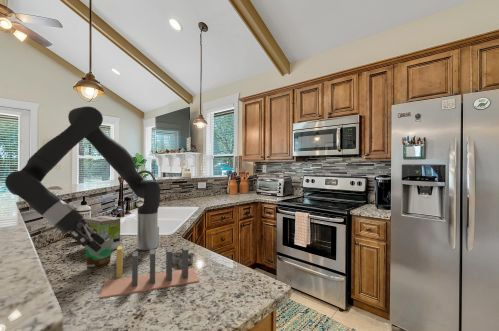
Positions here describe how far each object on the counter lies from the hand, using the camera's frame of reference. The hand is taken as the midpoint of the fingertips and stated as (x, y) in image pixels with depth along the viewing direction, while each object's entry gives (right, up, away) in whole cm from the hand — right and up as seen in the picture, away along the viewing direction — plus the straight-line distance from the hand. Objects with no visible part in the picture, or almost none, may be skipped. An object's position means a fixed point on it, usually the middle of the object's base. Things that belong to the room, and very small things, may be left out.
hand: (101, 246), depth 91 cm
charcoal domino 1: (+15, -11, -6) cm, 19 cm away
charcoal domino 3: (+25, -11, -2) cm, 27 cm away
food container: (-6, -11, +11) cm, 17 cm away
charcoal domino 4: (+30, -11, 0) cm, 32 cm away
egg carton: (+25, -12, +15) cm, 31 cm away
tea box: (-19, -12, +33) cm, 40 cm away
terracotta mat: (+20, -11, -4) cm, 23 cm away
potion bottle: (-36, -12, +44) cm, 58 cm away
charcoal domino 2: (+20, -11, -4) cm, 23 cm away
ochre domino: (+5, -11, +2) cm, 13 cm away
